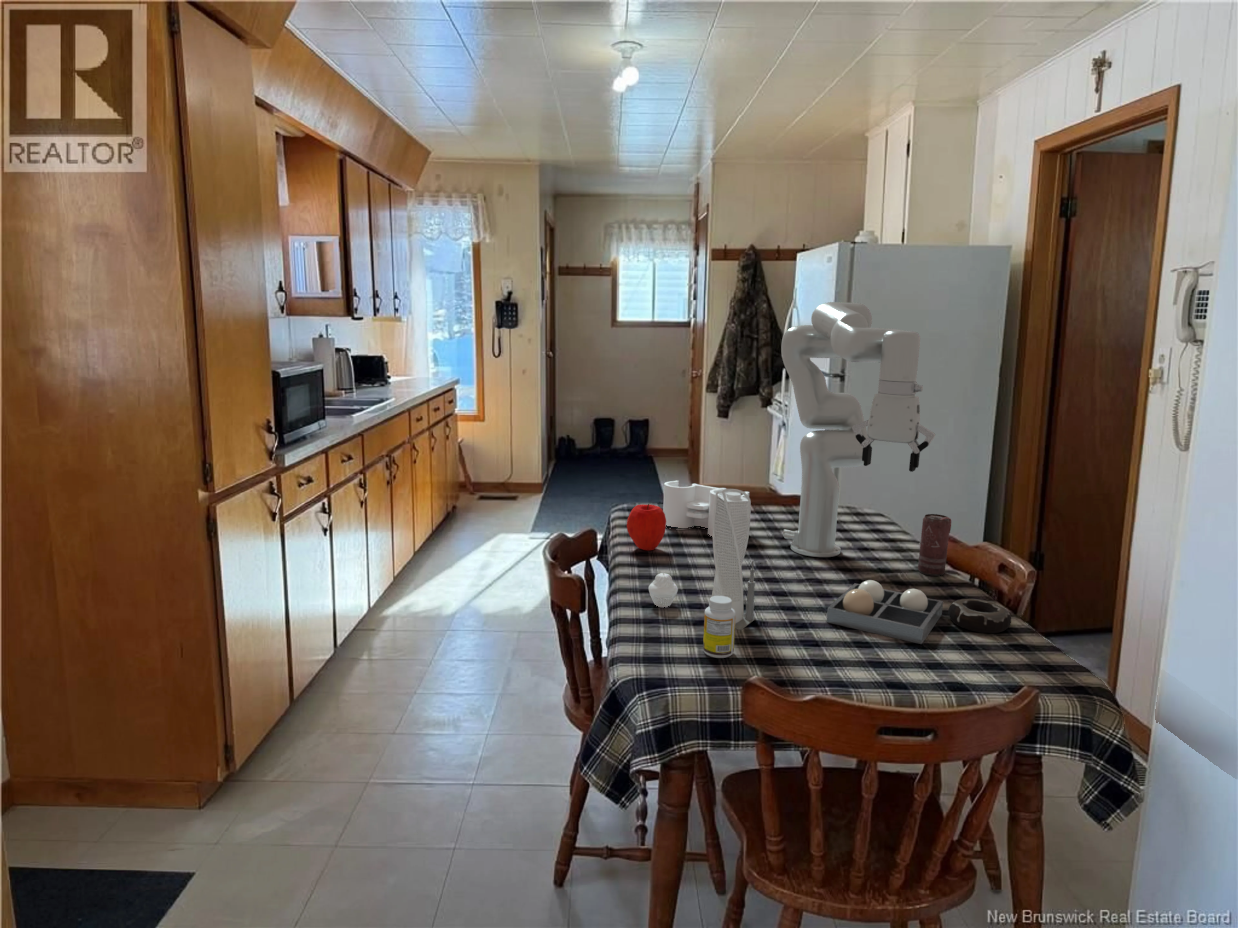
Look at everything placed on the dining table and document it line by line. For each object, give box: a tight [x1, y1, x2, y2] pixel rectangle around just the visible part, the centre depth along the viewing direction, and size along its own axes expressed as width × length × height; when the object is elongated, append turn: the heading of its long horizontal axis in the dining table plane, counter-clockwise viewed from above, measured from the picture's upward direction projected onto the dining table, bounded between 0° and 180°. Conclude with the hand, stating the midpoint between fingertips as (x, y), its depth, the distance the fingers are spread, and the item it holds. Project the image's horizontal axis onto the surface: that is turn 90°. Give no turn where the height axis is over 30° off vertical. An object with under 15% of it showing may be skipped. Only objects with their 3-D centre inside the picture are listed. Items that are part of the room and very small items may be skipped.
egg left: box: [858, 579, 884, 602], centre depth 171 cm, size 5×5×5 cm
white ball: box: [900, 588, 928, 612], centre depth 166 cm, size 5×5×5 cm
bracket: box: [662, 480, 750, 538], centre depth 226 cm, size 25×10×12 cm, turn 56°
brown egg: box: [843, 589, 874, 616], centre depth 163 cm, size 6×6×6 cm
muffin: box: [648, 572, 679, 608], centre depth 169 cm, size 6×6×7 cm
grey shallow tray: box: [826, 582, 944, 645], centre depth 165 cm, size 18×18×3 cm
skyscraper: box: [711, 488, 756, 631], centre depth 159 cm, size 8×8×28 cm
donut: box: [947, 598, 1012, 634], centre depth 163 cm, size 12×12×4 cm
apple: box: [626, 503, 667, 551], centre depth 207 cm, size 10×10×12 cm
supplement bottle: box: [702, 596, 736, 659], centre depth 146 cm, size 6×6×10 cm
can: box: [917, 513, 952, 577], centre depth 194 cm, size 6×6×14 cm
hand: (889, 467), depth 176 cm, fingers open, 9 cm apart
